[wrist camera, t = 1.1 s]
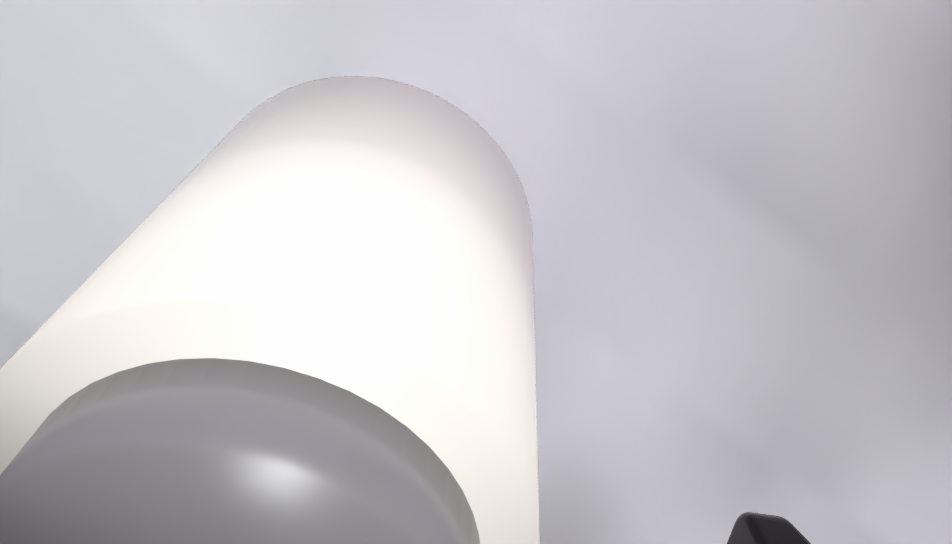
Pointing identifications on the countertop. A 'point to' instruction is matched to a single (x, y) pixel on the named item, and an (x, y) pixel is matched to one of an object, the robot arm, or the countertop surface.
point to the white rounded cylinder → (295, 345)
